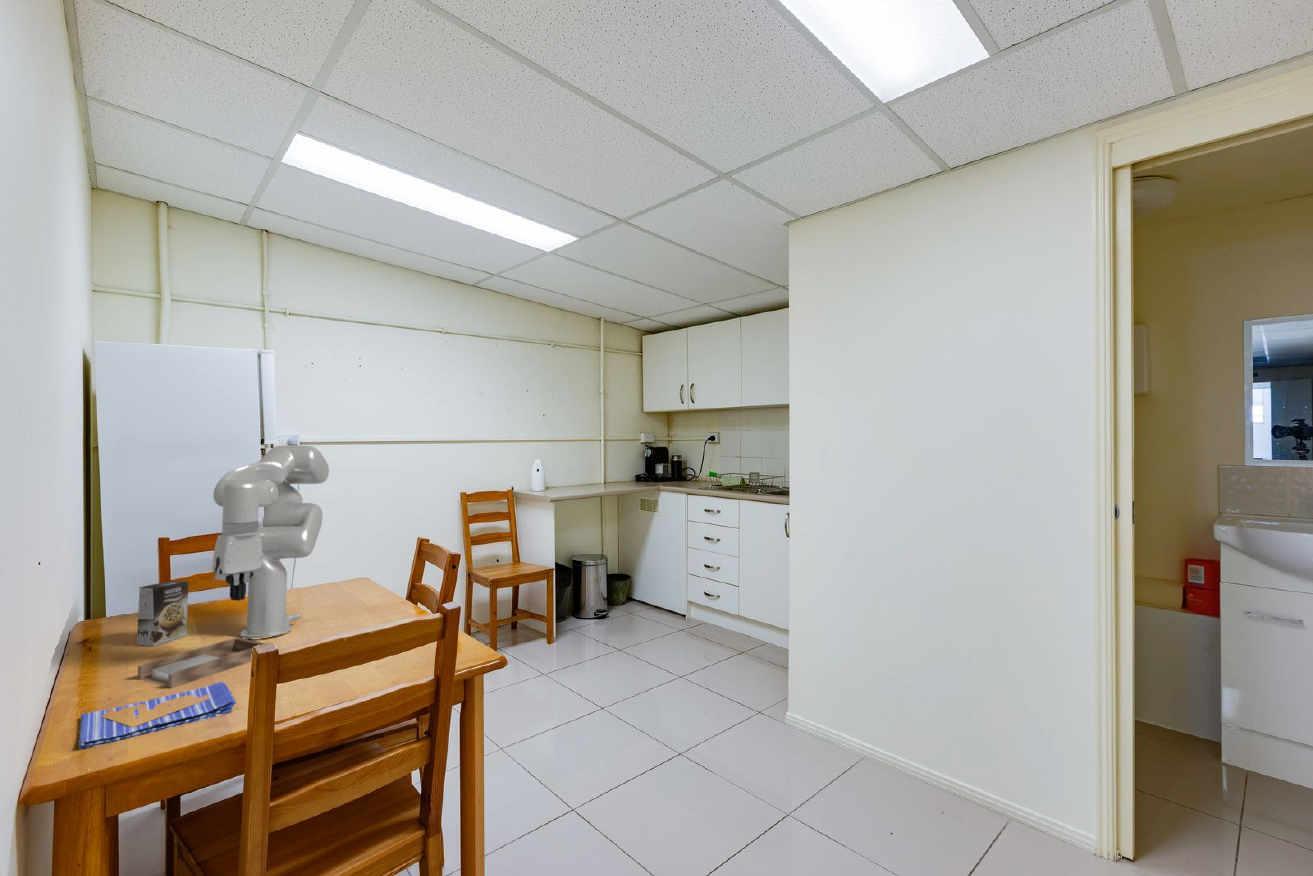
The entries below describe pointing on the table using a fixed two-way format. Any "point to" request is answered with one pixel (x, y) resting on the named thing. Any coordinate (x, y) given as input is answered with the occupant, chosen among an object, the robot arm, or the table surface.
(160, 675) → the cover plate
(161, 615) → the cookie box
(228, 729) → the table surface
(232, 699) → the dish towel
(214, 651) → the walnut box
